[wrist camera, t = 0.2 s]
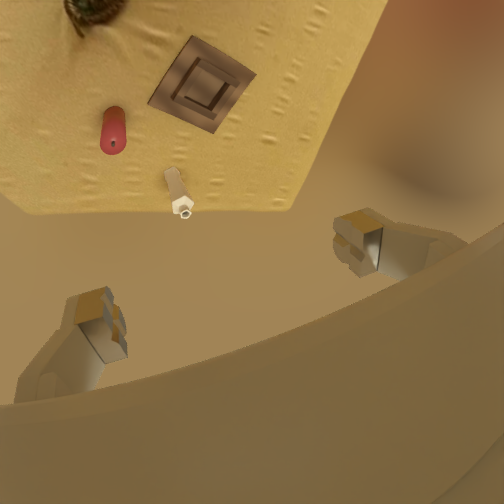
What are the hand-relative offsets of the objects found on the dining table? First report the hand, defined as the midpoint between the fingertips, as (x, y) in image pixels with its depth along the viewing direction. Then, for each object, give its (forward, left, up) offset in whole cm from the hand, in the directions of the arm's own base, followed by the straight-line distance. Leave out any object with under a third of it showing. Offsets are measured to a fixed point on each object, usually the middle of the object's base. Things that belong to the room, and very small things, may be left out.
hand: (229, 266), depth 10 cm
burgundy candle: (+13, +2, -52) cm, 54 cm away
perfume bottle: (+21, +20, -52) cm, 60 cm away
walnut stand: (0, +15, -52) cm, 54 cm away
